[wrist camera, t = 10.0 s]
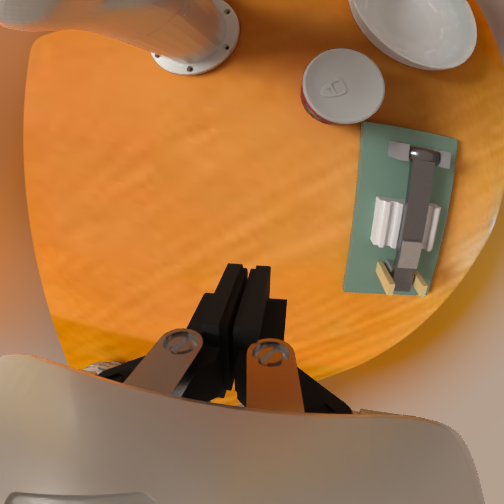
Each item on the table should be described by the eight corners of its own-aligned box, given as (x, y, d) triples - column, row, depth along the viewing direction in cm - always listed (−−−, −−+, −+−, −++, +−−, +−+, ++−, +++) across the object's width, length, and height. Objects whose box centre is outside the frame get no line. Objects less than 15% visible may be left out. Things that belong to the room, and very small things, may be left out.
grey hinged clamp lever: (406, 145, 30) (412, 146, 29) (434, 150, 30) (441, 152, 28) (384, 285, 38) (387, 292, 36) (409, 287, 37) (413, 293, 36)
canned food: (287, 92, 34) (285, 80, 24) (333, 56, 31) (346, 32, 21) (328, 136, 35) (341, 141, 25) (373, 100, 32) (401, 93, 22)
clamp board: (361, 121, 34) (377, 121, 27) (452, 138, 32) (482, 144, 25) (342, 286, 44) (349, 318, 36) (423, 290, 42) (441, 319, 35)
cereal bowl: (320, 28, 29) (325, 9, 23) (370, -44, 22) (380, -66, 16) (428, 99, 31) (451, 97, 24) (467, 24, 24) (491, 13, 17)
